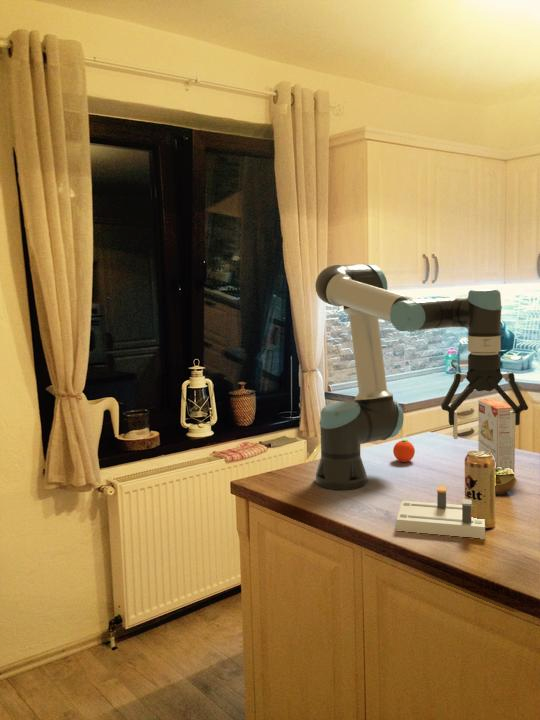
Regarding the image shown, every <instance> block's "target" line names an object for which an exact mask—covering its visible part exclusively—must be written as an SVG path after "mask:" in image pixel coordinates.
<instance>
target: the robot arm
mask: <svg viewBox="0 0 540 720" xmlns="http://www.w3.org/2000/svg"><path fill="white" fill-rule="evenodd" d="M386 277H387V276H386V275H385V272H384V271H383V270H382V269H381V268H380V267H379V266H377V265H374V264H366V263H358V264H356V263H355V264H334V265H330V266H328V267H326V268H323V270H321V272H319V274H318V275H317V277H316V280H315V287H314V288H315V292H316V294H317V296H318V298H319V299H320V300H321V301H322V302H324V303H326V304H328V305H331V306H333V307H342V308H343V312H345V313H346V314H347V315H348V316H349V323H350V331H351V338H352V340H351V341H352V347H353V348H352V349H353V355H354V356H353V357H354V363H355V371H356V381H357V388H358V393H357V395H356V396H355V397H354V400H353V401H349V400H345V401H337V402H332V403H329V404H327V405H325V406H324V407H323V408H322V409H321V411H320V417H319V426H320V454H321V455H320V459H319V462H318V466H317V469H316V472H315V483H316V484H317V485H318V486H320V487H321V488H324V489H327V490H329V489H330V490H339V491H340V490H341V491H342V490H343V491H344V490H345V491H346V490H354V489H359V488H361V487H364V486H365V485H366V484H367V483H368V477H367V476H368V474H367V472H366V469H365V465H364V463H363V461H362V460H363V459H362V457H361V445H365V444H367V443H368V444H369V443H373V442H378V441H386V440H388V439H391V438H394V437H396V436H397V435H398V434H399V432H400V431H401V430H402V428H403V425H404V420H405V419H404V417H405V415H404V410H403V408H402V406H401V405H400V403H399V402H397V400H394V396H393V393H392V392H391V391H389V390H388V389H387V388H388V387H387V380H386V372H385V371H386V370H385V362H384V355H383V347H382V340H381V330H380V322H379V319H380V320H384V321H386V322H390V323H391V325H392V326H393V327H394V329H395V330H396V331H399V332H410V333H411V332H412V333H413V332H415V331H417V332H418V331H423V330H424V331H427V330H434V329H444V328H447V329H448V328H467V351H468V352H469V354H468V355H467V373H462V372H461V373H460V372H459V371H456V372H454V377H453V382H452V384H451V385H450V387H449V389H448V392H447V393H446V395H445V397H444V399H443V401H442V403H441V405H440V407H441V409H442V410H443V411H446V412H447V413H448V423H449V426H452V437H453V439H454V440H458V411H457V409H458V408H459V407H460V406H461V405H462V403H464V401H466V400H467V398H468V397H469V396H470V395H471V394H472V393H473V392H474V391H477V392H483V391H487V392H492V391H494V390H495V391H496V392H497V393H498V394H499V396H501V398H502V399H503V400H504V401H505V402H506V404H508V405H510V406H511V408H512V409H513V410H514V411H510V438H511V439H515V440H516V426H520V424H521V418H520V417H521V412H525V411H528V409H529V405H528V404H527V402H526V400H525V398H524V397H523V394H522V392H521V391H520V389H519V387H518V385H517V382H516V378H515V373H513V372H512V371H507V372H504V373H502V371H501V354H500V352H501V335H502V334H501V320H502V308H503V307H502V299H501V298H502V296H501V295H502V294H501V291H499V290H498V289H495V288H492V289H489V288H487V289H486V288H485V289H484V288H481V289H470V290H469V291H468V295H467V297H451V296H446V297H445V296H441V297H437V298H422V299H420V298H419V299H418V298H413V297H410V296H407V295H404V294H401V293H397V292H394V291H392V290H391V291H390V290H388V280H387V278H386ZM465 379H466V380H467V382H469V383H467V385H466V386H465V388H464V390H463V391H462V392H461V393H460V394H459V395H458V396H457V397H456V398H455V399H454V401H453V402H452V400H453V397H454V396H455V394H456V392H457V390H458V388H459V387H460V383H463V382H464V380H465ZM502 379H504V380H505V381H506V382H507V383H508V385H509V386H510V389H511V391H512V392H513V394H514V396H515V398H516V400H517V402H518V404H519V405H517V404H516V402H514V401H513V399H512V398H511V397H510V396H509V395H508V394H507V392H505V391H504V389H503V388H502V387H501V386H500V385H499V383H500V382H501V381H502ZM451 402H452V403H451ZM450 403H451V404H450Z"/></svg>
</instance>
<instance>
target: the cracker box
mask: <svg viewBox="0 0 540 720" xmlns="http://www.w3.org/2000/svg"><path fill="white" fill-rule="evenodd" d="M510 411H514V410H513V409H512V408H511V406H510V405H509V404H508V403H507V402H506V403H505V402H503V401H501V400H499V399H497V398H481V399H478V430H477V431H478V433H477V434H478V436H477V437H478V447H477V449H478V451H486V452H490V453H492V455H493V456H494V458H495V462H496V468H497V467H502V468H510V469H512V470H513V472H514V473H515V461H516V460H515V459H516V458H515V455H516V454H515V453H516V452H515V451H516V450H515V447H516V444H515V443H516V442H515V441H516V438H515V439H511V438H510Z"/></svg>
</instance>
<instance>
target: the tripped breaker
mask: <svg viewBox="0 0 540 720" xmlns="http://www.w3.org/2000/svg"><path fill="white" fill-rule="evenodd" d="M436 494H437V496H436V497H437V502H436V503H437V507H438V508H446V504H447V486H443V485H442V486H441V485H438V486H437V491H436Z"/></svg>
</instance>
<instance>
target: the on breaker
mask: <svg viewBox="0 0 540 720" xmlns="http://www.w3.org/2000/svg"><path fill="white" fill-rule="evenodd" d="M461 500H462V502H461V505H462V522H471V506H473V505H472V504H473V501H472V499H468V498H462V499H461Z"/></svg>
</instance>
